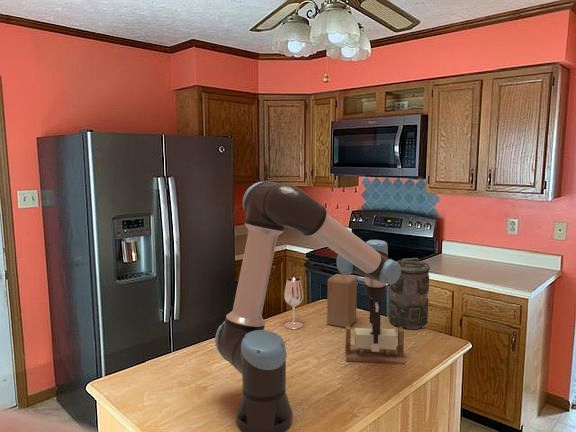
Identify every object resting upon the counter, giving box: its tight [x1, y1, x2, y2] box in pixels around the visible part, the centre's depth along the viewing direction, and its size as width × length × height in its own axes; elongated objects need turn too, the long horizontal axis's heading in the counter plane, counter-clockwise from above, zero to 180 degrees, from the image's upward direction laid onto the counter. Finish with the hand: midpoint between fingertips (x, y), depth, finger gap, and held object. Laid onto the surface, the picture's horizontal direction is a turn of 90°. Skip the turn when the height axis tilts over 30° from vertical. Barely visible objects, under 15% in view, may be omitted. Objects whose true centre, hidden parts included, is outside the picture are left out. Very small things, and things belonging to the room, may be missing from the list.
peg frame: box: [344, 325, 406, 365], centre depth 161 cm, size 13×20×10 cm, turn 84°
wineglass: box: [283, 277, 304, 330], centre depth 187 cm, size 8×8×20 cm
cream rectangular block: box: [354, 327, 398, 350], centre depth 160 cm, size 6×14×5 cm, turn 85°
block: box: [326, 273, 358, 329], centre depth 189 cm, size 10×10×20 cm
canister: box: [388, 257, 431, 330], centre depth 189 cm, size 16×16×28 cm
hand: (374, 345), depth 161 cm, fingers open, 8 cm apart
